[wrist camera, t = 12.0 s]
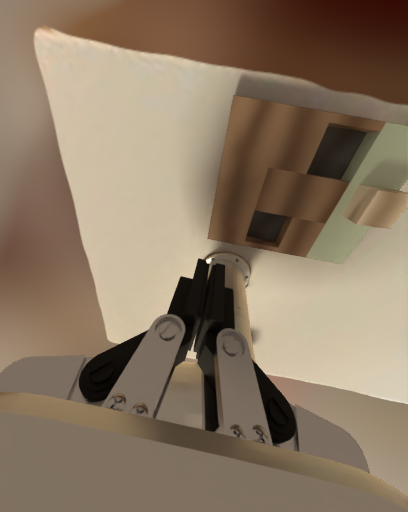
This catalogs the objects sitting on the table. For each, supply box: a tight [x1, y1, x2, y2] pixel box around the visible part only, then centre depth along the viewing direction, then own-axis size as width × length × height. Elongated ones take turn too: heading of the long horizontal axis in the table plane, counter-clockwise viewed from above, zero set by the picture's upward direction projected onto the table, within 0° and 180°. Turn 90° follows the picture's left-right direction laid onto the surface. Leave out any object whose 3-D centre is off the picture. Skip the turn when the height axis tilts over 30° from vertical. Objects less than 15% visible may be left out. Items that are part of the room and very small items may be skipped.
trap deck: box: [207, 95, 386, 257], centre depth 30 cm, size 20×22×3 cm
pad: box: [306, 122, 408, 264], centre depth 29 cm, size 8×22×3 cm, turn 172°
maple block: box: [342, 185, 408, 229], centre depth 26 cm, size 5×5×4 cm
